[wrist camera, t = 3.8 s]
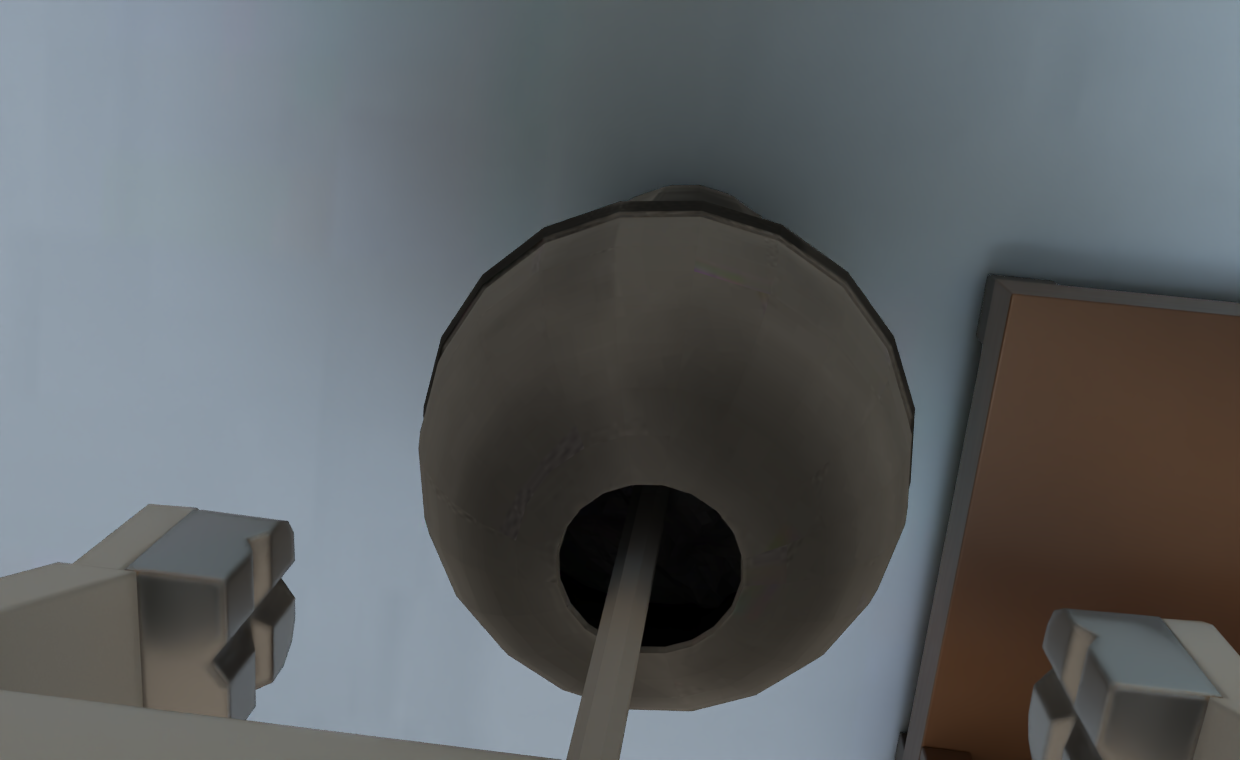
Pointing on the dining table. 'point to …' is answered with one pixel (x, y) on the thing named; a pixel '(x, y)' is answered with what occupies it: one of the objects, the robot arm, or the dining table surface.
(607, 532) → the beverage cup
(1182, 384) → the shelf
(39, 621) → the robot arm
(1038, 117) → the dining table surface
